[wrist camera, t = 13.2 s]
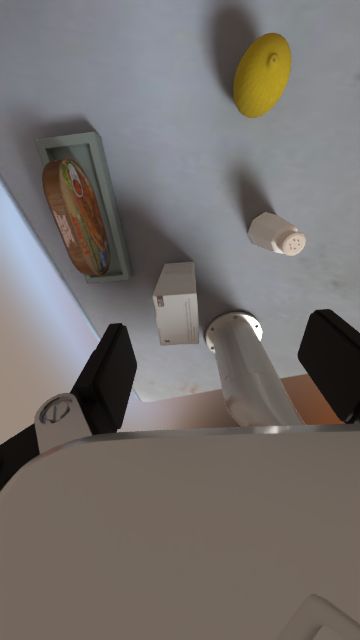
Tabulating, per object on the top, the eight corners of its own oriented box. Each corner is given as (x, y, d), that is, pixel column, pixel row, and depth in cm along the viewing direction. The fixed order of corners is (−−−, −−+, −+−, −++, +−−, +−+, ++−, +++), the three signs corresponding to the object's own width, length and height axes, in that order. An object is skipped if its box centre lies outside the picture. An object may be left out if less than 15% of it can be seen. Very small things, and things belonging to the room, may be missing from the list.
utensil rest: (132, 275, 38) (129, 279, 36) (92, 278, 38) (87, 283, 36) (100, 136, 27) (93, 131, 25) (45, 143, 28) (34, 139, 26)
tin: (115, 265, 36) (98, 283, 29) (98, 267, 36) (78, 285, 29) (86, 161, 28) (54, 152, 21) (65, 164, 28) (26, 155, 21)
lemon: (276, 109, 25) (309, 80, 19) (235, 135, 27) (252, 116, 20) (266, 48, 23) (301, -11, 16) (221, 80, 24) (235, 38, 18)
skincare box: (196, 299, 41) (201, 346, 28) (167, 301, 41) (160, 348, 29) (194, 258, 36) (199, 293, 24) (161, 261, 36) (150, 297, 24)
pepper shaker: (264, 203, 31) (299, 209, 22) (287, 225, 33) (327, 238, 24) (240, 234, 34) (262, 250, 25) (262, 252, 35) (290, 274, 26)
